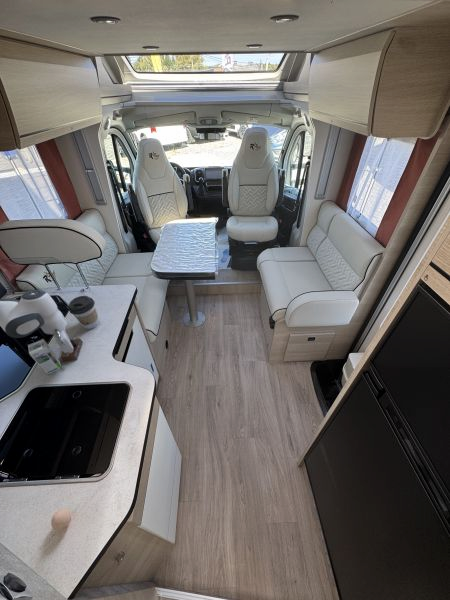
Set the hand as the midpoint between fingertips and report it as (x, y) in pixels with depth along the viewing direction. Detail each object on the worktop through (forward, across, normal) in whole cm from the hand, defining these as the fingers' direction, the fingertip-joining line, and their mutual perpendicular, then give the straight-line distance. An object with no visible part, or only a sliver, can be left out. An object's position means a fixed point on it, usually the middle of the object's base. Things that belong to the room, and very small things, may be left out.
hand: (68, 344), depth 112 cm
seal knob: (+2, 0, 0) cm, 2 cm away
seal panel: (+5, 0, 0) cm, 5 cm away
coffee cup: (+5, +12, -12) cm, 18 cm away
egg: (+5, -61, +18) cm, 64 cm away
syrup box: (+5, -3, +9) cm, 11 cm away
